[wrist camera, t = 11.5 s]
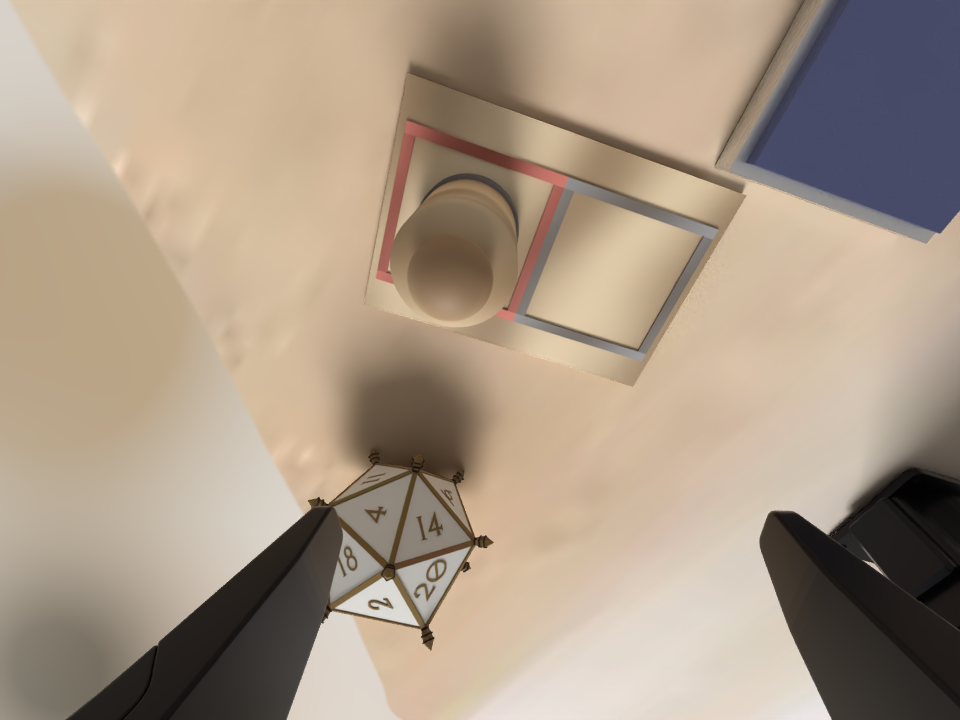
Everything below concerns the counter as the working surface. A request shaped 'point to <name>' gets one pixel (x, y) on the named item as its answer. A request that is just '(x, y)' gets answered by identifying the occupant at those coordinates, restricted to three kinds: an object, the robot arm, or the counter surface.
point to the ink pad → (861, 114)
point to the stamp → (458, 252)
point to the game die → (399, 544)
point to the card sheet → (559, 230)
